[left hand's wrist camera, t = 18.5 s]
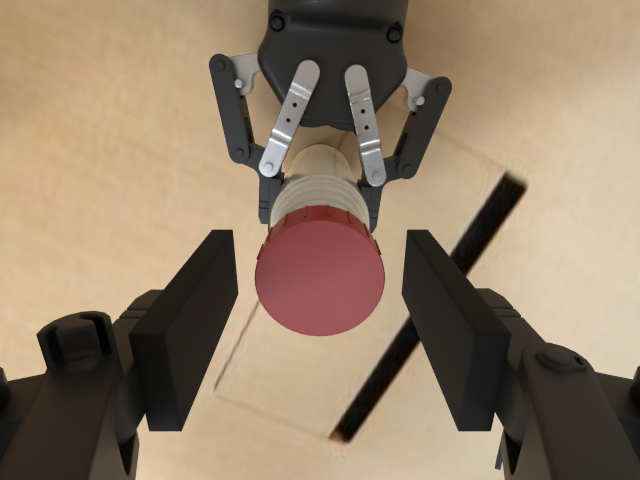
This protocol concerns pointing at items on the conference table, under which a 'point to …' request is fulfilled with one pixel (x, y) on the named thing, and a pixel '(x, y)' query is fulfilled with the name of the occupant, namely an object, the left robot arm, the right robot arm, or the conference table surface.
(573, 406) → the left robot arm
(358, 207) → the bottle
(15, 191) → the conference table surface
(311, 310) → the cap
